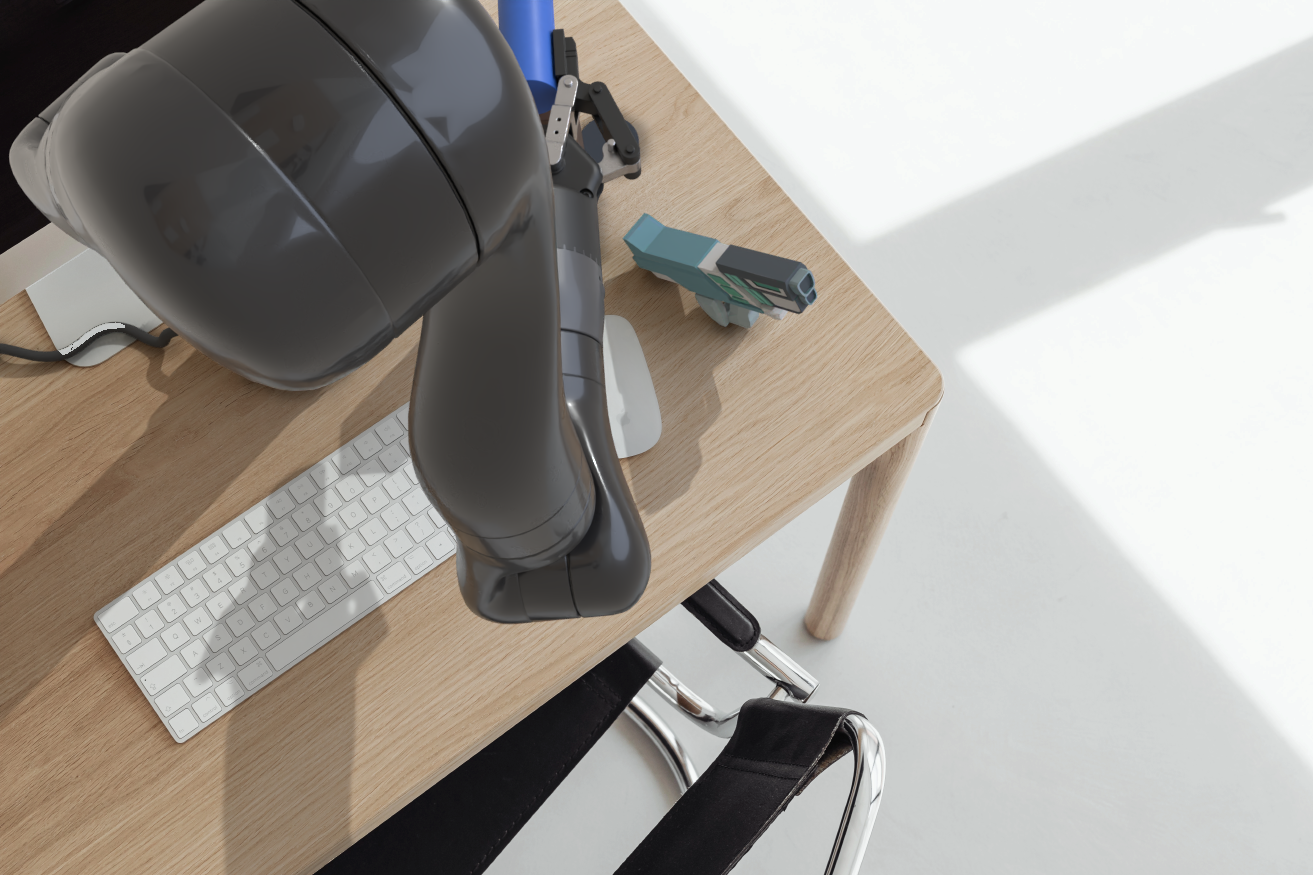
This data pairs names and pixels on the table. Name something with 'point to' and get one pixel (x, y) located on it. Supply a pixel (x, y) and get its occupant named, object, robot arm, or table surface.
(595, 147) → the mat
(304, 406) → the table surface
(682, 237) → the toy gun
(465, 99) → the robot arm
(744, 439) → the table surface
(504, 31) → the tube
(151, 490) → the table surface
